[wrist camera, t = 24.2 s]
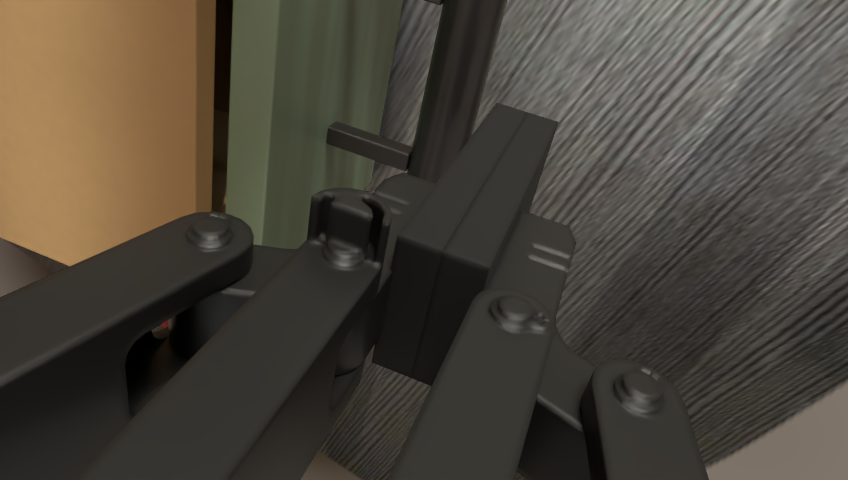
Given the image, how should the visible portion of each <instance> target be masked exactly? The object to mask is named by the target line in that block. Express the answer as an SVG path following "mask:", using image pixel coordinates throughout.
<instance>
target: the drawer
mask: <svg viewBox="0 0 848 480" xmlns="http://www.w3.org/2000/svg"><path fill="white" fill-rule="evenodd" d="M425 1H428V2H431V3H435V4H438V5H441V4H443V7H442V11H441V16H440V21H439V26H438V30H437V35H436V40H435V44H434V49H433V54H432V59H431V63H430V68H429V73H428V78H427V82H426V87H425V92H424V97H423V101H422V106H421V111H420V115H419V120H418V125H417V130H416V134H415V139H414V144H413V147H410V146H408V145H405V144H402V143H399V142H396V141H393V140H390V139H387V138H384V137H381V136H379V134H380V129H381V123H382V117H383V112H384V106H385V100H386V95H387V89H388V83H389V78H390V72H391V67H392V61H393V55H394V50H395V44H396V38H397V33H398V27H399V21H400V16H401V10H402V5H403V0H216V24H215V72H214V120H213V168H212V212H219V213H225V214H230V215H232V216H235V217H237V218H240V219H242V220H243V221H244V222H245V223H247V224H248V225H249V226H250V227H251V230H252V232H253V235H254V242H253V244H255V245H262V246H269V247H275V248H284V249H298V248H299V247H300V246H301V245H302V244H303V243H304V242H305V241H306V240H307V233H308V224H309V215H310V205H311V196H313V195H314V194H316V193H318V192H320V191H321V190H326V189H331V188H353V189H358V190H362V191H363V190H364V189H365V188H366V187H367V186H368V185H369V184H370V183H371V179H372V174H373V168H374V162H375V161H377V162H380V163H383V164H386V165H389V166H392V167H395V168H397V169H400V170H403V171H406V170H407V169H408V172H407V174H409V175H412V176H415V177H418V178H421V179H424V180H427V181H430V182H433V183H437V182H438V180H439V179H440V178H441V176H442V175H443V174H444V172H445V171H446V170H447V168H448V167H449V166H450V164H451V163H452V162H453V160H454V159H455V158H456V156H457V155H458V154H459V152H460V151H461V150H462V148H463V147H464V146H465V144H466V143H467V142H468V140H469V139H470V138H471V136H472V132H473V128H474V125H475V121H476V117H477V113H478V110H479V106H480V102H481V98H482V94H483V91H484V87H485V83H486V79H487V76H488V72H489V68H490V64H491V60H492V57H493V53H494V49H495V45H496V42H497V38H498V34H499V30H500V26H501V23H502V19H503V15H504V11H505V7H506V4H507V0H425Z"/></svg>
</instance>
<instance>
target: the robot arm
mask: <svg viewBox="0 0 848 480" xmlns="http://www.w3.org/2000/svg"><path fill="white" fill-rule="evenodd" d="M557 125H558V122H557V121H553V120H550V119H547V118H544V117H540V116H537V115H534V114H531V113H528V112H524V111H521V110H518V109H515V108H511V107H508V106H505V105H502V104H499V103H496V105H495V106H494V107H493V109H492V110H491V111H490V113H489V114H488V115H487V117H486V118H485V119H484V121H483V122H482V123H481V125H480V126H479V127H478V129H477V130H476V131H475V132H474V134H473V135H472V136H471V138H470V139H469V140H468V142H467V143H466V144H465V146H464V147H463V148H462V150H461V151H460V152H459V154H458V155H457V156H456V158H455V159H454V160H453V162H452V163H451V164H450V166H449V167H448V168H447V170H446V171H445V172H444V174H443V175H442V176H441V178H440V179H439V180H438V182H437V183H433V182H430V181H427V180H424V179H421V178H418V177H415V176H412V175H409V174H406V173H401V174H398V175H395V176H393V177H390V178H387V179H385V180H384V181H383V182H382V183H381V184H380V185H379V186H378V187H377V188H376V189H375V190H374V193H372V194H371V193H369V192H366V191H362V190H358V189H353V188H331V189H326V190H321V191H320V192H318V193H316V194H314V195H313V196H311V205H310V215H309V224H308V233H307V240H306V241H305V242H304V243H303V244H302V245H301V246H300V247H299V248H298V249H284V248H275V247H269V246H262V245H255V244H253V242H254V235H253V232H252V230H251V227H250V226H249V225H248V224H247V223H245V222H244V221H243V220H242V219H240V218H237V217H235V216H232V215H230V214H225V213H219V212H196V213H193V214H189V215H186V216H182V217H180V218H177V219H175V220H173V221H171V222H168V223H166V224H164V225H162V226H159V227H157V228H155V229H153V230H150V231H148V232H146V233H144V234H141V235H139V236H137V237H135V238H132V239H130V240H128V241H126V242H123V243H121V244H119V245H117V246H114V247H112V248H110V249H108V250H105V251H103V252H101V253H99V254H96V255H94V256H92V257H90V258H87V259H85V260H83V261H81V262H78V263H76V264H74V265H72V266H69V267H67V268H65V269H63V270H60V271H58V272H56V273H54V274H52V275H49V276H47V277H45V278H43V279H40V280H38V281H36V282H34V283H31V284H29V285H27V286H25V287H22V288H20V289H18V290H16V291H13V292H11V293H9V294H7V295H4V296H2V297H0V480H300V479H301V477H302V476H303V474H304V473H305V471H306V469H307V468H308V466H309V464H310V463H311V461H312V460H313V458H314V456H315V455H316V453H317V451H318V450H319V448H320V447H321V445H322V443H323V442H324V440H325V438H326V437H327V435H328V433H329V432H330V430H331V428H332V427H333V425H334V424H335V422H336V420H337V419H338V417H339V415H340V414H341V412H342V410H343V409H344V407H345V406H346V404H347V402H348V401H349V399H350V397H351V396H352V394H353V392H354V391H355V389H356V387H357V386H358V384H359V382H360V379H361V376H362V372H363V367H364V362H365V358H366V357H367V355H368V354H369V352H370V350H371V349H372V347H373V346H374V344H375V348H374V353H373V358H372V363H375V364H378V365H380V366H383V367H385V368H388V369H390V370H393V371H395V372H398V373H400V374H403V375H405V376H408V377H410V378H413V379H415V380H418V381H420V382H423V383H426V384H428V385H431V388H430V391H429V393H428V395H427V397H426V399H425V401H424V403H423V405H422V407H421V409H420V411H419V414H418V416H417V418H416V420H415V422H414V424H413V426H412V428H411V430H410V432H409V434H408V436H407V439H406V441H405V443H404V445H403V447H402V449H401V451H400V453H399V455H398V457H397V459H396V462H395V464H394V466H393V468H392V470H391V472H390V474H389V476H388V478H387V480H514V479H515V475H516V471H517V472H518V473H519V474H521V475H522V476H523V477H525V478H526V479H527V480H709V479H708V475H707V472H706V469H705V466H704V463H703V459H702V456H701V453H700V450H699V447H698V444H697V440H696V437H695V434H694V431H693V428H692V424H691V421H690V418H689V415H688V412H687V409H686V405H685V403H684V401H683V399H682V397H681V395H680V393H679V391H678V390H677V388H676V387H675V386H674V385H673V384H672V383H671V382H670V381H669V380H668V379H667V378H666V377H665V376H663V375H662V374H660V373H658V372H657V371H655V370H654V369H652V368H650V367H649V366H646V365H644V364H641V363H638V362H635V361H632V360H623V359H612V360H609V361H606V362H602V363H601V364H600V365H599V366H598V367H595V366H594V365H592V364H591V363H589V362H588V361H586V360H584V359H583V358H582V357H580V356H579V355H578V354H576V353H575V352H574V351H572V350H571V349H570V348H569V347H568V346H567V344H566V343H565V342H564V341H563V339H562V338H561V336H560V335H559V333H558V330H557V327H556V314H557V311H558V307H559V303H560V300H561V296H562V292H563V289H564V285H565V282H566V278H567V274H568V270H569V267H570V263H571V259H572V256H573V253H574V249H575V245H576V241H575V239H574V237H573V234H572V232H571V229H570V227H569V226H566V225H563V224H560V223H557V222H554V221H551V220H548V219H545V218H542V217H539V216H536V215H533V214H530V213H529V210H530V207H531V204H532V201H533V198H534V195H535V192H536V189H537V186H538V183H539V179H540V176H541V173H542V170H543V167H544V164H545V161H546V158H547V155H548V152H549V149H550V146H551V143H552V140H553V137H554V134H555V131H556V128H557ZM167 320H168V324H169V326H167V327H166V328H164V329H162V330H160V331H157V332H154V333H152V331H151V330H152V329H154V328H155V327H157V326H159V325H160V324H162V323H164V322H166V321H167Z"/></svg>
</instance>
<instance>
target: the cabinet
mask: <svg viewBox="0 0 848 480" xmlns="http://www.w3.org/2000/svg"><path fill="white" fill-rule="evenodd" d="M215 24H216V0H0V238H2V239H5V240H7V241H10V242H12V243H15V244H17V245H19V246H22V247H24V248H27V249H29V250H32V251H34V252H36V253H39V254H41V255H44V256H46V257H49V258H51V259H53V260H56V261H58V262H61V263H63V264H66V265H68V266H72V265H74V264H76V263H78V262H81V261H83V260H85V259H87V258H90V257H92V256H94V255H96V254H99V253H101V252H103V251H105V250H108V249H110V248H112V247H114V246H117V245H119V244H121V243H123V242H126V241H128V240H130V239H132V238H135V237H137V236H139V235H141V234H144V233H146V232H148V231H150V230H153V229H155V228H157V227H159V226H162V225H164V224H166V223H168V222H171V221H173V220H175V219H177V218H180V217H182V216H186V215H189V214H193V213H196V212H212V168H213V120H214V72H215Z"/></svg>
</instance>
